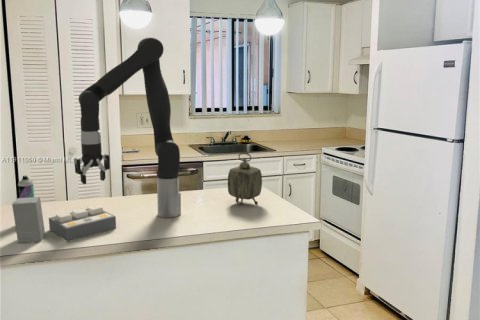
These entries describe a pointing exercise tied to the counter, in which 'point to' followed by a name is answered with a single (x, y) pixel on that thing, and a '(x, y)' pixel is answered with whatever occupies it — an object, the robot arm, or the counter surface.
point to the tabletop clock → (244, 181)
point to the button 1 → (63, 217)
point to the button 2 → (95, 210)
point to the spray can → (26, 188)
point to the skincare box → (28, 219)
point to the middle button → (79, 213)
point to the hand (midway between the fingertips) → (93, 181)
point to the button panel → (83, 226)
